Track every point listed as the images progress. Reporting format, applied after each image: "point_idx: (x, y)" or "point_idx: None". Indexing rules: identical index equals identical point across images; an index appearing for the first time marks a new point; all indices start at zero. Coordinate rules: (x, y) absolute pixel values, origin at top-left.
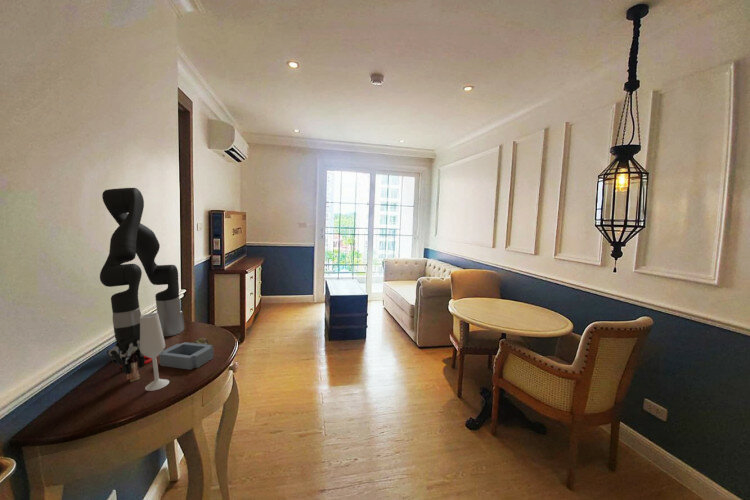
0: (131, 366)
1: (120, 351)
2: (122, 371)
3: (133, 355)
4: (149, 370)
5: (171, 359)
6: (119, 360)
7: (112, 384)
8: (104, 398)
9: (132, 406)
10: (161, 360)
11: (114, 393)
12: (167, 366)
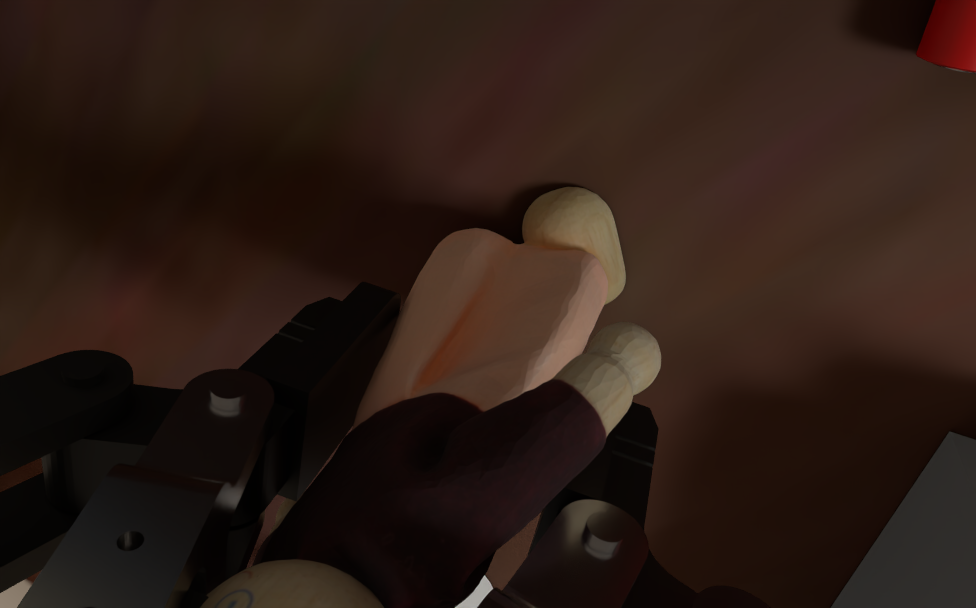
0: (279, 519)
1: (53, 567)
2: (302, 309)
3: None
4: (786, 344)
5: None
6: (5, 550)
7: (366, 49)
8: (104, 225)
9: None
10: (954, 529)
11: (198, 264)
12: (874, 543)
